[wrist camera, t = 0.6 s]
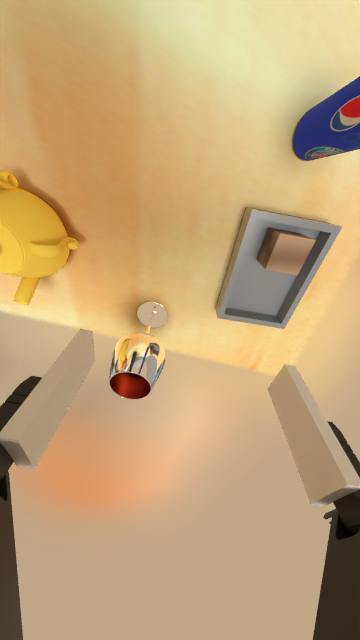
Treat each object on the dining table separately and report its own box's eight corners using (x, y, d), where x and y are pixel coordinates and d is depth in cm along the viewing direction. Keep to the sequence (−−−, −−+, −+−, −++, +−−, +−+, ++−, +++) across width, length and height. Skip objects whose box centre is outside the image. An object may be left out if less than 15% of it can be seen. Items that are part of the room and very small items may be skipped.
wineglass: (175, 328, 43) (166, 402, 28) (139, 332, 44) (112, 406, 29) (167, 294, 39) (151, 361, 24) (127, 300, 40) (89, 368, 25)
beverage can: (283, 135, 25) (372, 85, 13) (324, 93, 23) (479, -19, 11) (303, 171, 27) (397, 156, 15) (342, 134, 25) (493, 80, 12)
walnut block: (268, 227, 30) (280, 233, 26) (299, 233, 31) (316, 240, 27) (256, 259, 33) (265, 269, 29) (284, 264, 33) (297, 275, 29)
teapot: (-22, 223, 33) (-105, 238, 24) (17, 159, 28) (-69, 146, 19) (53, 287, 39) (10, 318, 30) (97, 244, 34) (61, 265, 25)
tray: (246, 207, 30) (252, 209, 27) (328, 223, 30) (342, 226, 28) (215, 308, 40) (217, 317, 37) (277, 318, 40) (284, 328, 38)
